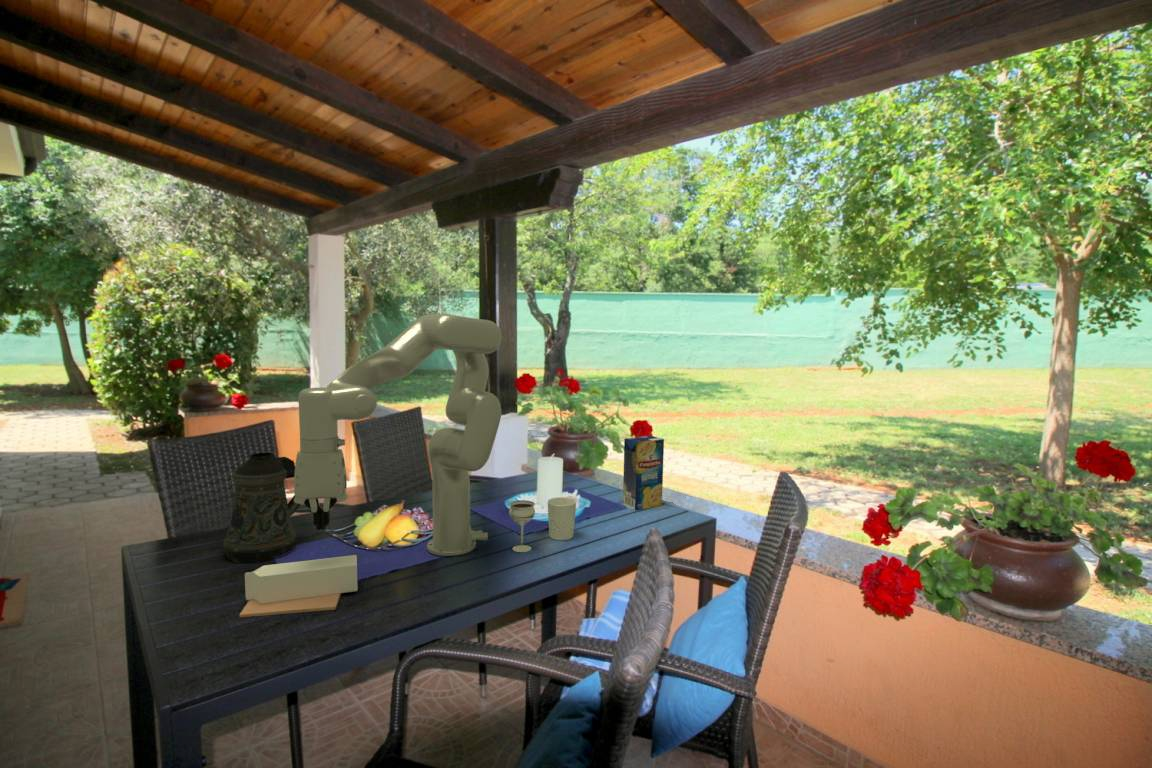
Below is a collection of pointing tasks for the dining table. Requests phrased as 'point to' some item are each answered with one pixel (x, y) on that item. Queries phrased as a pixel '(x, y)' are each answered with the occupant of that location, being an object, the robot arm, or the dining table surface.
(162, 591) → the dining table surface
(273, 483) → the beer stein
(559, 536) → the beige tumbler cup
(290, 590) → the milk
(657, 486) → the blue cardboard tall box
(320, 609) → the mat
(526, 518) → the wineglass
